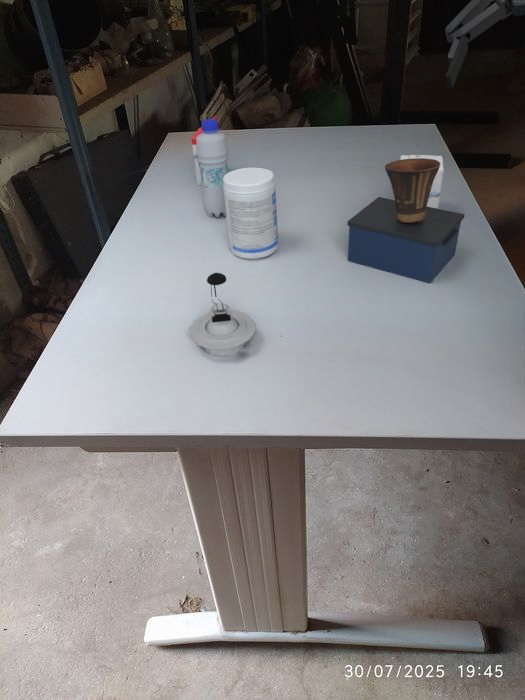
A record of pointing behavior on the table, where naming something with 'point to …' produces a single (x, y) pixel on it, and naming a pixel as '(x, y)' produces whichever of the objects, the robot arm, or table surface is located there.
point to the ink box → (437, 182)
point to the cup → (412, 186)
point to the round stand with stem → (222, 326)
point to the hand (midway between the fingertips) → (494, 86)
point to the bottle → (212, 166)
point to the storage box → (403, 240)
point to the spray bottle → (197, 165)
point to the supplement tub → (251, 212)
